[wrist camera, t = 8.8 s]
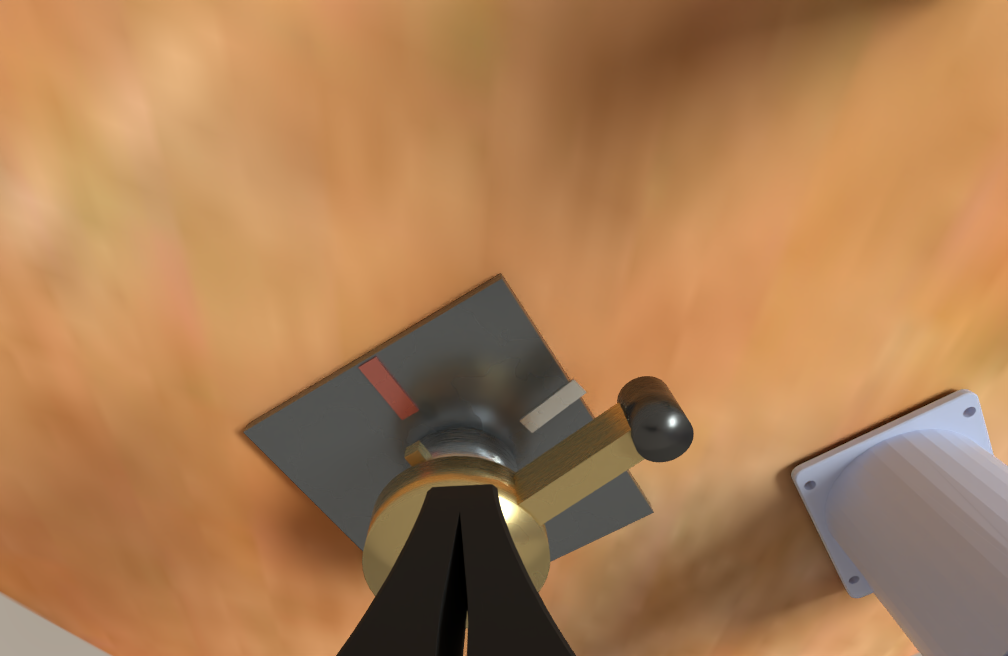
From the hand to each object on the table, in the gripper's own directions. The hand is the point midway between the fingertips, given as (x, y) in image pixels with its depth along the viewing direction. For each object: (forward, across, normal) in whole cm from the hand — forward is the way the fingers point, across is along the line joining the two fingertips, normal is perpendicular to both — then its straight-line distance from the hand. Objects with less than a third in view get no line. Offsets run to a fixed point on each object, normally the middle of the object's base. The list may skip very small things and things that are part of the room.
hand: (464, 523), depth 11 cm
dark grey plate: (+10, +1, +7) cm, 12 cm away
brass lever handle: (+7, -2, +5) cm, 9 cm away
